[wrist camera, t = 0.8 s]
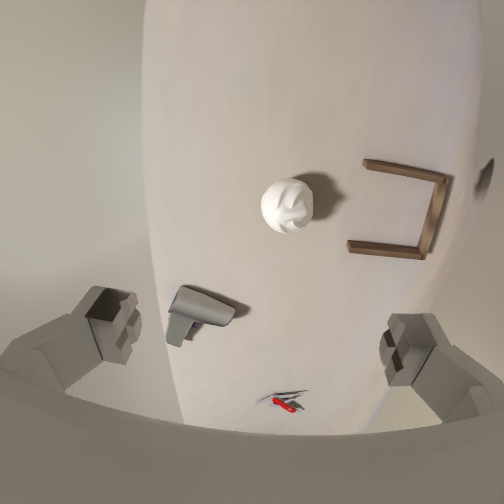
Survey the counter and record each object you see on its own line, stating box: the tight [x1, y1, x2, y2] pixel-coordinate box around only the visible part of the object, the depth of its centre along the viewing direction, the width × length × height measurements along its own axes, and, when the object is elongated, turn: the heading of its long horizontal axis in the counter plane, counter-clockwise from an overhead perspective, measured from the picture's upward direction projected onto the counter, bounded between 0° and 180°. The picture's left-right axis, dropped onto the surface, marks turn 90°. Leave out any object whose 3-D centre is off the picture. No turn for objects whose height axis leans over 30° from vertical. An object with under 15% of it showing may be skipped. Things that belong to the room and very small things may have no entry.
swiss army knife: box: [254, 393, 304, 413], centre depth 75 cm, size 12×14×2 cm
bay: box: [347, 159, 449, 260], centre depth 46 cm, size 15×14×2 cm
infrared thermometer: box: [166, 286, 236, 347], centre depth 61 cm, size 5×12×15 cm
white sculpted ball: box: [261, 178, 313, 234], centre depth 44 cm, size 8×8×8 cm
